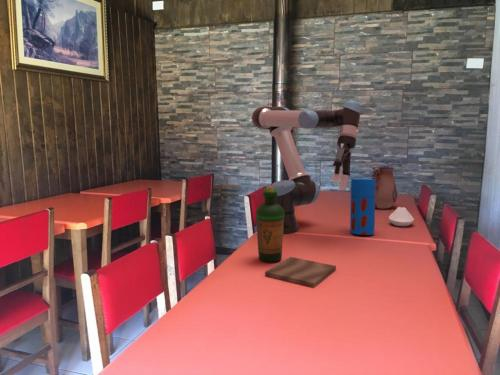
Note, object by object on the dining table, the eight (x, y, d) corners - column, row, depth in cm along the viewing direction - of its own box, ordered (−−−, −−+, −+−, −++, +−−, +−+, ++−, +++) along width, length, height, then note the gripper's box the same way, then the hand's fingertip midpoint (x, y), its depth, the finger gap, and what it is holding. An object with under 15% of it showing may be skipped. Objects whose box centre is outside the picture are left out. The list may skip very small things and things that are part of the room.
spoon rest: (413, 229, 191) (414, 214, 190) (388, 227, 195) (388, 213, 194) (411, 218, 213) (412, 205, 212) (388, 216, 217) (389, 204, 216)
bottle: (264, 266, 143) (264, 189, 138) (251, 257, 152) (250, 185, 148) (289, 261, 148) (290, 187, 143) (274, 253, 157) (275, 183, 152)
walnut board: (265, 275, 134) (265, 271, 133) (290, 260, 148) (290, 256, 148) (314, 287, 124) (314, 283, 124) (335, 269, 139) (335, 265, 138)
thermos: (375, 235, 177) (376, 179, 175) (350, 234, 179) (351, 179, 177) (372, 231, 188) (373, 178, 186) (349, 230, 190) (350, 178, 188)
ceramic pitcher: (399, 206, 242) (401, 165, 238) (391, 213, 225) (393, 169, 221) (370, 203, 252) (372, 164, 248) (360, 209, 234) (362, 167, 230)
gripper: (350, 127, 155) (342, 180, 151) (361, 147, 177) (353, 193, 174) (332, 126, 158) (323, 178, 155) (344, 146, 180) (336, 191, 177)
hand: (339, 186), depth 164 cm, fingers open, 13 cm apart
